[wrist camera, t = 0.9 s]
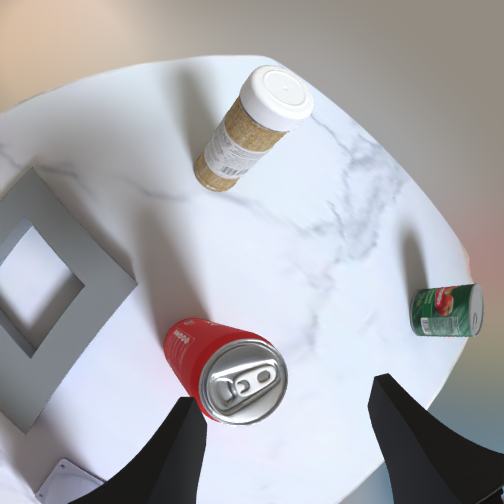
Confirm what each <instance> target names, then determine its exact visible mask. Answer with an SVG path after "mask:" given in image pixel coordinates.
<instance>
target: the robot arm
mask: <svg viewBox="0 0 504 504" xmlns="http://www.w3.org/2000/svg"><path fill="white" fill-rule="evenodd" d="M368 411H369V415H370V419H371V423H372V427H373V430H374V433H375V435H376V438H377V441H378V443H379V446H380V449H381V452H382V454H383V457H384V460H385V462H386V465H387V469H388V472H389V476H390V481H391V486H392V492H393V499H394V504H504V497H502V498H501V495H502V494H503V489H502V487H503V486H504V454H502V453H498V452H495V451H492V450H489V449H487V448H484V447H482V446H480V445H477V444H476V443H474V442H472V441H469V440H468V439H466V438H464V437H462V436H461V435H459V434H457V433H456V432H454V431H453V430H451V429H449V428H448V427H447V426H445V425H444V424H443V423H441V422H440V421H438V420H437V419H436V418H435V417H434V416H432V415H431V414H430V413H429V412H428V411H426V410H425V409H424V408H423V407H422V406H421V405H420V404H419V403H418V402H417V401H416V400H414V399H413V398H412V397H411V396H410V395H409V394H408V393H407V392H406V391H405V390H404V389H403V388H402V387H401V386H400V385H399V384H398V383H397V381H396V380H395V379H394V378H393V377H392V376H391V375H390V374H388V373H387V374H383V375H379V376H375V377H374V381H373V385H372V390H371V394H370V398H369V402H368ZM206 437H207V423H206V421H205V418H204V416H203V414H202V412H201V410H200V408H199V405H198V403H197V401H196V399H195V397H180V398H179V399H178V401H177V402H176V404H175V405H174V407H173V408H172V410H171V411H170V413H169V414H168V416H167V417H166V419H165V420H164V422H163V423H162V424H161V426H160V427H159V428H158V430H157V431H156V432H155V434H154V435H153V436H152V438H151V439H150V440H149V441H148V442H147V444H146V445H145V446H144V447H143V448H142V450H141V451H140V452H139V453H138V454H137V455H136V456H135V457H134V458H133V459H132V460H131V461H130V462H129V463H128V464H127V465H126V466H125V467H124V468H123V469H122V470H120V471H119V472H118V473H117V474H116V475H114V476H113V477H112V478H111V479H109V480H108V481H107V482H105V483H104V482H102V481H100V480H99V479H97V478H95V477H93V476H92V475H90V474H88V473H87V472H85V471H83V470H82V469H80V468H79V467H77V466H76V465H74V464H73V463H71V462H70V461H68V460H66V459H64V458H63V459H61V460H60V461H59V463H58V464H57V465H56V467H55V468H54V469H53V471H52V472H51V473H50V475H49V476H48V478H47V479H46V480H45V482H44V483H43V485H42V486H41V487H40V489H39V490H38V492H37V493H36V494H35V499H36V500H37V501H39V502H40V503H42V504H196V494H197V487H198V482H199V477H200V472H201V467H202V462H203V457H204V452H205V447H206ZM62 465H64V466H65V467H64V466H62Z"/></svg>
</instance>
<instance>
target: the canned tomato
mask: <svg viewBox="0 0 504 504" xmlns="http://www.w3.org/2000/svg"><path fill="white" fill-rule="evenodd" d="M483 315H484V299H483V293H482V290H481V287H480V285H479V284H478V283H476V284H470V285H461V286H453V287H441V288H432V289H420V290H418V291H417V292H416V293H415V295H414V297H413V299H412V303H411V308H410V321H411V327H412V329H413V331H414V333H415V334H416V335H417V336H440V337H442V336H443V337H446V336H447V337H471V336H473V337H477V336H478V334H479V333H480V331H481V327H482V323H483Z"/></svg>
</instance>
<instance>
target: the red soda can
mask: <svg viewBox="0 0 504 504" xmlns="http://www.w3.org/2000/svg"><path fill="white" fill-rule="evenodd" d="M164 353H165V357H166V360H167V362H168V363H169V365H170V367H171V368H172V370H173V371H174V373H175V374H176V376H177V378H178V379H179V381H180V382H181V384H182V385H183V387H184V388H185V390H186V391H187V393H188V394H189V395H190V397H195V399H196V401H197V403H198V405H199V408H200V410H201V412H203V413H204V414H205V415H206V416H207V417H209V418H211V419H212V420H215V421H217V422H220V423H223V424H226V425H229V426H237V427H241V426H248V425H252V424H255V423H258V422H260V421H262V420H264V419H265V418H267V417H268V416H269V415H270V414H272V413H273V412H274V411H275V410H276V408H277V407H278V406H279V404H280V403H281V401H282V399H283V397H284V395H285V392H286V389H287V384H288V372H287V367H286V364H285V361H284V359H283V357H282V356H281V354H280V353H279V352H278V351H277V350H276V349H275V347H274V346H273V345H272V344H271V343H270V342H269V341H267V340H266V339H265V338H263V337H261V336H259V335H257V334H255V333H252V332H248V331H244V330H240V329H236V328H232V327H229V326H225V325H221V324H218V323H214V322H211V321H207V320H204V319H198V318H190V319H185V320H182V321H180V322H178V323H177V324H175V325H174V326H173V327H172V328H171V329H170V331H169V332H168V334H167V336H166V338H165V342H164Z"/></svg>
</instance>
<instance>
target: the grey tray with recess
mask: <svg viewBox="0 0 504 504" xmlns="http://www.w3.org/2000/svg"><path fill="white" fill-rule="evenodd" d="M32 225H33V226H34V227H35V229H36V230H37V231H38V233H39V234H40V235H41V236H42V238H43V239H44V240H45V241H46V242H47V244H48V245H49V246H50V247H51V248H52V250H53V251H54V252H55V253H56V254H57V255H58V257H59V258H60V259H61V260H62V261H63V262H64V263H65V264H66V266H67V267H68V268H69V269H70V270H71V271H72V272H73V273H74V274H75V275H76V276H77V277H78V279H79V280H80V281H81V282H82V283H83V284H84V285H85V287H84V288H83V289H82V290H81V291H80V293H79V294H78V295H77V296H76V298H75V299H74V300H73V301H72V303H71V304H70V305H69V307H68V308H67V309H66V310H65V312H64V313H63V314H62V316H61V317H60V318H59V320H58V321H57V322H56V324H55V325H54V326H53V328H52V329H51V331H50V332H49V333H48V335H47V336H46V338H45V339H44V340H43V342H42V343H41V345H40V346H39V348H38V349H37V350H36V349H35V348H34V347H33V346H32V345H31V344H30V343H29V342H28V341H27V339H26V338H25V337H24V336H23V335H22V334H21V333H20V332H19V330H18V329H17V328H16V327H15V326H14V325H13V323H12V322H11V321H10V320H9V319H8V317H7V316H6V315H5V314H4V312H3V311H2V310H1V308H0V411H1V412H2V413H3V414H4V415H5V416H6V417H7V418H8V419H9V420H10V421H11V422H13V423H14V424H15V425H16V426H17V427H18V428H19V429H20V430H21V431H22V432H24V433H25V434H27V433H28V431H29V429H30V428H31V426H32V425H33V423H34V422H35V420H36V419H37V417H38V416H39V414H40V412H41V411H42V409H43V408H44V406H45V405H46V403H47V402H48V400H49V399H50V397H51V396H52V395H53V393H54V392H55V390H56V389H57V387H58V386H59V384H60V383H61V382H62V380H63V379H64V377H65V376H66V375H67V373H68V372H69V370H70V369H71V368H72V366H73V365H74V364H75V362H76V361H77V360H78V358H79V357H80V356H81V354H82V353H83V352H84V350H85V349H86V348H87V346H88V345H89V344H90V342H91V341H92V340H93V339H94V337H95V336H96V335H97V333H98V332H99V331H100V330H101V328H102V327H103V326H104V325H105V323H106V322H107V321H108V320H109V318H110V317H111V316H112V315H113V313H114V312H115V311H116V310H117V309H118V307H119V306H120V305H121V304H122V302H123V301H124V300H125V299H126V298H127V296H128V295H129V294H130V293H131V292H132V291H133V289H134V288H135V287H136V286H137V285H138V283H137V282H136V281H135V280H134V279H133V278H131V277H130V276H129V275H128V274H127V273H126V272H125V271H124V270H123V269H122V268H121V267H120V266H119V265H118V264H117V263H116V262H115V261H114V260H113V259H112V258H111V257H110V256H109V255H108V254H107V253H106V252H105V251H104V250H103V249H102V248H101V247H100V246H99V245H98V244H97V243H96V241H95V240H94V239H93V238H92V237H91V236H90V235H89V234H88V233H87V232H86V231H85V230H84V229H83V227H82V226H81V225H80V224H79V223H78V222H77V221H76V220H75V219H74V217H73V216H72V215H71V214H70V213H69V212H68V211H67V209H66V208H65V207H64V206H63V205H62V203H61V202H60V201H59V200H58V199H57V198H56V196H55V195H54V194H53V193H52V191H51V190H50V189H49V188H48V186H47V185H46V184H45V183H44V181H43V180H42V179H41V178H40V176H39V175H38V174H37V172H36V171H35V170H34V168H33V167H32V168H31V169H30V170H29V171H28V172H27V173H26V174H25V175H24V176H23V177H22V178H21V179H20V180H19V181H18V182H17V184H16V185H15V186H14V187H13V188H12V189H11V190H10V191H9V192H8V194H7V195H6V196H5V197H4V198H3V199H2V201H1V202H0V266H1V264H2V263H3V261H4V260H5V259H6V257H7V256H8V255H9V253H10V252H11V251H12V249H13V248H14V247H15V245H16V244H17V243H18V242H19V240H20V239H21V238H22V237H23V235H24V234H25V233H26V232H27V230H28V229H29V228H30V227H31V226H32Z"/></svg>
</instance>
